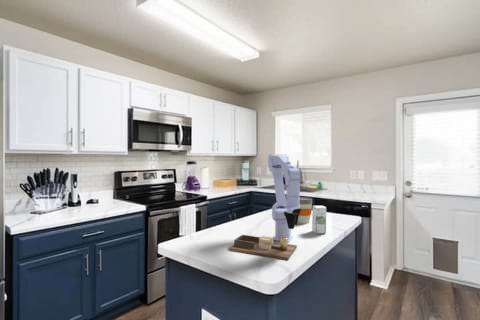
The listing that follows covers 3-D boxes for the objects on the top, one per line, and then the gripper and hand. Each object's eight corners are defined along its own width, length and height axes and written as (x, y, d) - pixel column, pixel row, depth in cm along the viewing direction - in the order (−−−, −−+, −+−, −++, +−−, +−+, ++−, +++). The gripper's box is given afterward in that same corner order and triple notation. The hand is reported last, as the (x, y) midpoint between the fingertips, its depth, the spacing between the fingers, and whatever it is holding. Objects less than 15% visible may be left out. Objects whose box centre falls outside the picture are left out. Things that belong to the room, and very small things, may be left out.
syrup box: (322, 231, 144) (322, 205, 144) (326, 234, 138) (326, 207, 138) (312, 231, 144) (312, 205, 144) (315, 234, 138) (315, 207, 138)
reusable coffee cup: (291, 219, 172) (291, 196, 172) (310, 219, 170) (311, 197, 170) (292, 223, 159) (292, 199, 159) (313, 224, 158) (313, 200, 157)
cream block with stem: (262, 244, 118) (262, 233, 118) (288, 248, 113) (288, 237, 113) (258, 247, 113) (258, 236, 113) (285, 252, 108) (285, 240, 108)
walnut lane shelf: (244, 239, 128) (244, 232, 128) (296, 247, 117) (296, 239, 117) (229, 250, 113) (229, 242, 113) (288, 260, 102) (288, 251, 102)
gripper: (287, 193, 122) (287, 221, 122) (280, 197, 108) (279, 229, 108) (302, 194, 119) (302, 223, 119) (296, 198, 106) (296, 231, 106)
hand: (292, 226), depth 114 cm, fingers open, 7 cm apart
